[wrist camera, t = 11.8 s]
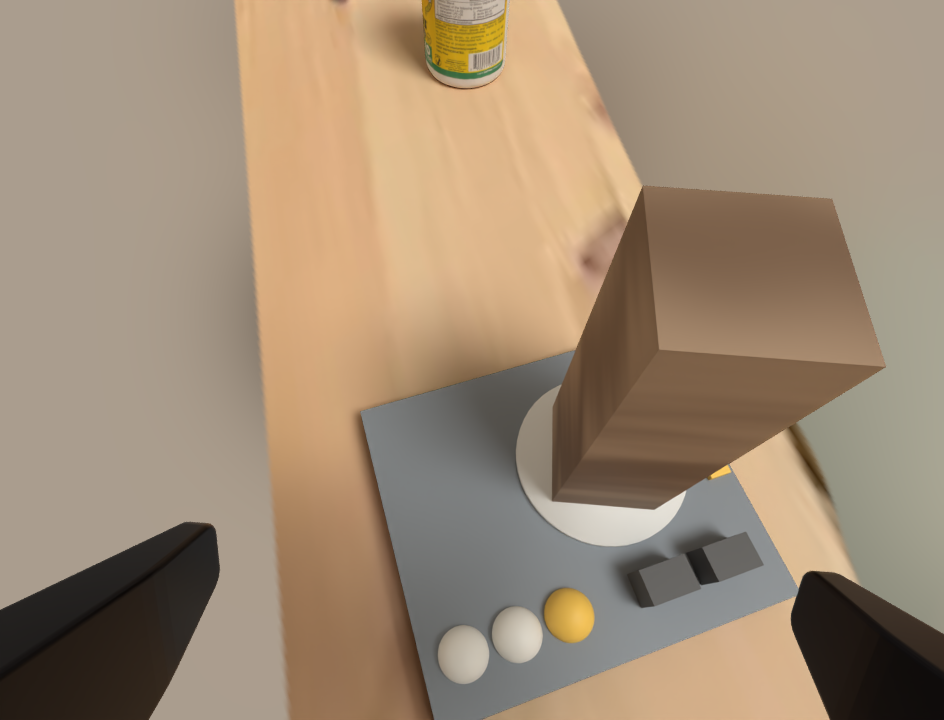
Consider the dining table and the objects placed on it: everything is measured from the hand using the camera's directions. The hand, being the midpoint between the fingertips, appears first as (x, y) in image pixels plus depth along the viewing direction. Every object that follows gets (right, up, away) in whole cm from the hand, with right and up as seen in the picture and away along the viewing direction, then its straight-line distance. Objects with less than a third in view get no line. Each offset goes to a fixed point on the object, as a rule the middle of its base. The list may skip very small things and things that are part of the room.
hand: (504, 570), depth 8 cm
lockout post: (+5, -1, +13) cm, 14 cm away
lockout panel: (+3, -3, +14) cm, 15 cm away
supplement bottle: (-1, +23, +27) cm, 36 cm away
